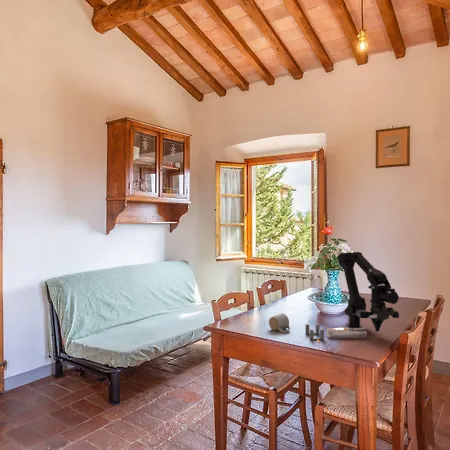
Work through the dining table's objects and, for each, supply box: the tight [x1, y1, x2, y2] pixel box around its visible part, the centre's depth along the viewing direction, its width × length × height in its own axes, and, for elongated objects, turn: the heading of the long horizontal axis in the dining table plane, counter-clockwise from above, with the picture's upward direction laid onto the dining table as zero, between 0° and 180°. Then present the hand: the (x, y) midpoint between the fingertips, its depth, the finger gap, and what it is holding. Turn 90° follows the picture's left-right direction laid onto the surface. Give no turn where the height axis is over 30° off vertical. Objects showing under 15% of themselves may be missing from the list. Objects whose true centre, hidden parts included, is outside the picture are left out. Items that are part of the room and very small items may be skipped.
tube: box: [326, 326, 368, 339], centre depth 179 cm, size 18×4×5 cm, turn 92°
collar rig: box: [304, 323, 325, 343], centre depth 178 cm, size 15×6×5 cm, turn 2°
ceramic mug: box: [268, 313, 291, 334], centre depth 189 cm, size 11×8×8 cm
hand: (377, 331), depth 179 cm, fingers closed
